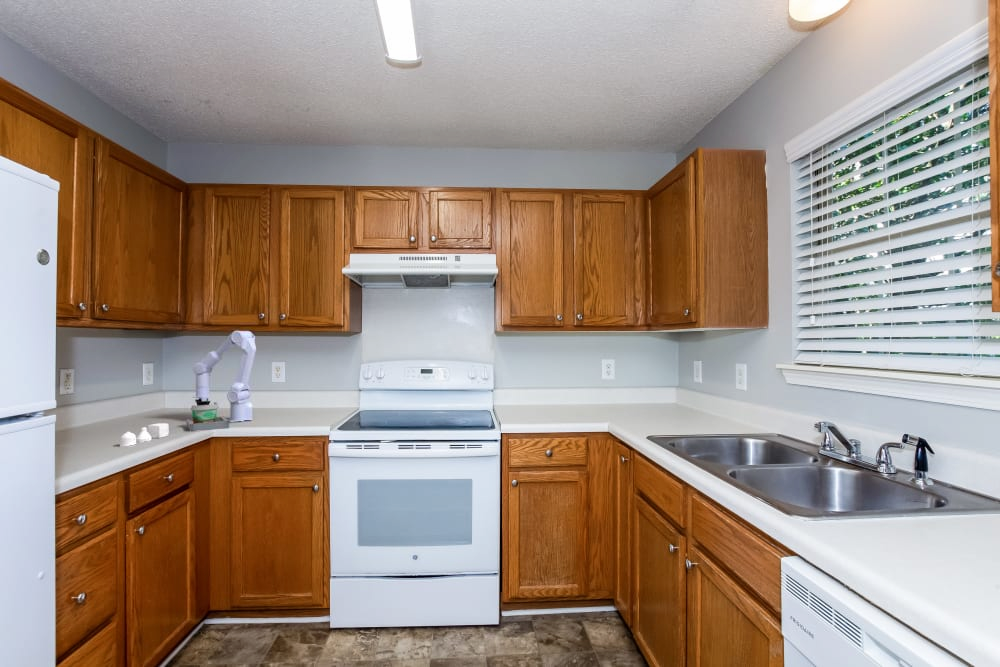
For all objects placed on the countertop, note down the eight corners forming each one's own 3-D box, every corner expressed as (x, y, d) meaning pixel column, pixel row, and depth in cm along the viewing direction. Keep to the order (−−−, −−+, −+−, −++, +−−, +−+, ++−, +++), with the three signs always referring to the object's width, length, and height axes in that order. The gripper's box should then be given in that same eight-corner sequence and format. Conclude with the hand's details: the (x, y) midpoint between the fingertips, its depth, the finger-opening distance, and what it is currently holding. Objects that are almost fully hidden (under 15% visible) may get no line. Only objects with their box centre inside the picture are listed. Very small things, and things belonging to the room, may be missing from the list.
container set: (156, 436, 198) (156, 423, 198) (168, 436, 198) (168, 423, 198) (115, 447, 178) (115, 432, 178) (128, 447, 178) (129, 432, 178)
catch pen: (223, 422, 229) (223, 416, 229) (229, 427, 216) (229, 421, 216) (186, 425, 220) (186, 419, 220) (189, 431, 207) (189, 424, 207)
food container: (200, 428, 213) (200, 406, 213) (190, 427, 215) (190, 405, 216) (224, 424, 225) (224, 402, 225) (215, 423, 227) (215, 402, 227)
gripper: (191, 386, 238) (191, 413, 238) (194, 388, 227) (194, 417, 226) (208, 385, 242) (207, 412, 242) (211, 387, 231) (211, 415, 231)
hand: (202, 414), depth 235 cm, fingers open, 7 cm apart
